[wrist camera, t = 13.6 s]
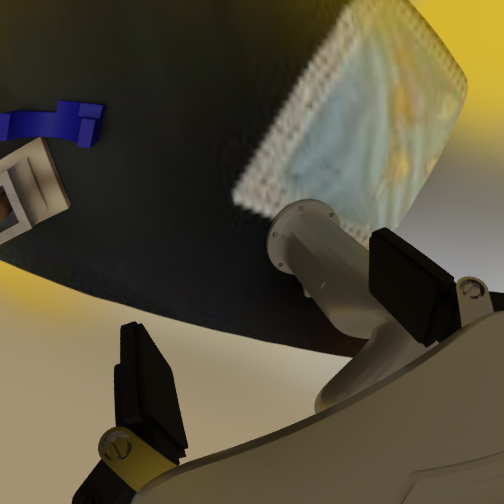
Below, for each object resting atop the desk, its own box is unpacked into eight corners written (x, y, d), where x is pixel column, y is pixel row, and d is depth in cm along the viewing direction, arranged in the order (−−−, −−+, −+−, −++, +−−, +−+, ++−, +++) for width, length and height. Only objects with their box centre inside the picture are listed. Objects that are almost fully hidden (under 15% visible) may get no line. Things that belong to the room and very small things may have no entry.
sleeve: (46, 208, 31) (31, 228, 26) (7, 228, 30) (-10, 250, 25) (26, 157, 27) (6, 170, 23) (-14, 181, 26) (-35, 197, 21)
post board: (70, 204, 34) (46, 246, 25) (6, 236, 33) (-28, 284, 23) (44, 135, 29) (4, 153, 19) (-22, 175, 27) (-68, 207, 17)
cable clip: (106, 104, 31) (98, 106, 26) (98, 140, 32) (89, 148, 27) (21, 98, 26) (1, 100, 21) (16, 132, 27) (-4, 140, 22)
